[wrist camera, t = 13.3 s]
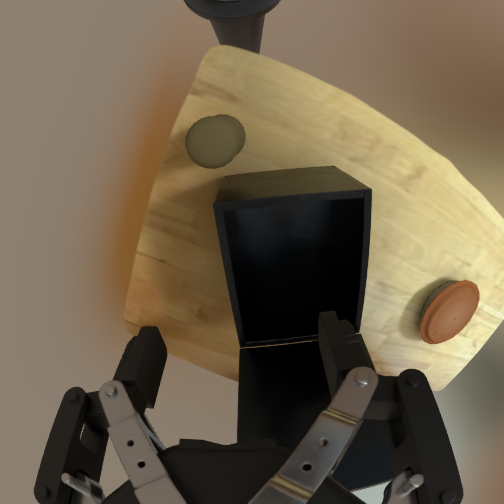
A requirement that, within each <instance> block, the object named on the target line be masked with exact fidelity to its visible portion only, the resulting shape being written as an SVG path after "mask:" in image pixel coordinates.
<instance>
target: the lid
mask: <svg viewBox="0 0 504 504" xmlns="http://www.w3.org/2000/svg"><path fill="white" fill-rule="evenodd" d="M356 335H357V337H358V339H359V342H360V344H361V347H362V349H363V352H364V355H365V357H366V360H367V362H368V365H369V367H370V368H371V369H373V370H374V371H375V372H376V370H375V368H374V365H373V363H372V360H371V357H370V355H369V352H368V350H367V348H366V345H365V343H364V340H363V338H362V335H361V334H356ZM331 401H332V398H331V394H330V389H329V385H328V381H327V377H326V372H325V368H324V364H323V360H322V356H321V352H320V348H319V342H318V341H310V342H303V343H295V344H286V345H277V346H267V347H256V348H243V349H240V354H239V386H238V422H237V443H239V442H243V441H247V440H251V439H266V438H276V443H278V444H284V445H288V446H291V447H293V448H295V449H296V448H297V446H298V445H299V444H300V442H301V441H302V439H303V438H304V437H305V435H306V434H307V432H308V431H309V430H310V428H311V427H312V425H313V424H314V422H315V421H316V419H317V418H318V416H319V415H320V413H321V412H322V411H323V410H324V409H327V408H328V406H329V405H330V403H331ZM331 477H332V478H333V479H335V480H336V481H337V482H338V483H340V484H341V485H342V486H343V487H345V488H346V489H347V490H349V491H350V492H353V491H357V490H362V489H365V488H369V487H373V486H376V485H379V484H383V483H386V482H389V481H392V480H393V479H394V478H396V475H395V469H394V464H393V459H392V454H391V450H390V445H389V440H388V436H387V432H386V427H385V423H384V420H378V419H364V420H363V422H362V424H361V426H360V428H359V429H358V431H357V433H356V435H355V437H354V439H353V440H352V442H351V444H350V446H349V447H348V449H347V451H346V453H345V455H344V457H343V458H342V460H341V462H340V463H339V465H338V466H337V468H336V470H335V471H334V473H333V474H332V476H331Z"/></svg>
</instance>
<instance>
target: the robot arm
mask: <svg viewBox="0 0 504 504" xmlns="http://www.w3.org/2000/svg"><path fill="white" fill-rule="evenodd" d="M215 1H220V2H239V1H244V0H215ZM318 342H319V348H320V352H321V356H322V360H323V364H324V368H325V372H326V377H327V381H328V385H329V389H330V394H331V398H332V401H331V403H330V405H329V406H328V408H327V409H324V410H323V411H322V412H321V413H320V415H319V416H318V418H317V419H316V421H315V422H314V424H313V425H312V427H311V428H310V430H309V431H308V432H307V434H306V435H305V437H304V438H303V439H302V441H301V442H300V444H299V445H298V446H297V448H296V449H295V448H293V447H291V446H288V445H284V444H278V443H276V438H266V439H251V440H247V441H243V442H239V443H235V444H231V445H221V444H217V443H213V442H209V441H205V440H195V439H194V440H193V439H180V442H179V445H175V446H172V447H169V448H167V449H166V447H165V446H164V445H163V444H162V442H161V441H160V440H159V437H158V436H157V434H156V432H155V431H154V429H153V427H152V425H151V424H150V422H149V420H148V418H147V416H146V415H145V409H146V408H153V409H154V405H155V401H156V397H157V393H158V389H159V386H160V382H161V378H162V374H163V370H164V367H165V363H166V359H167V348H166V345H165V343H164V341H163V339H162V336H161V334H160V332H159V329H158V328H157V327H156V326H143V327H141V329H140V331H139V334H138V336H134V337H133V338H132V339H131V340H130V341H129V343H128V344H127V346H126V348H125V352H124V353H123V356H122V359H121V360H120V363H119V365H118V368H117V370H116V373H115V375H114V378H113V380H112V381H108V382H106V383H105V384H103V385H102V387H101V388H100V390H99V391H96V392H90V393H86V392H85V391H84V390H83V389H82V388H80V387H73V388H71V389H69V390H68V391H67V392H66V393H65V395H64V397H63V400H62V402H61V405H60V407H59V410H58V413H57V415H56V418H55V421H54V424H53V426H52V429H51V432H50V435H49V438H48V441H47V444H46V447H45V451H44V454H43V457H42V461H41V464H40V468H39V471H38V475H37V479H36V483H35V487H34V495H35V498H36V500H37V501H38V502H39V503H40V504H366V503H365V502H363V501H362V500H361V499H359V498H358V497H356V496H355V495H354V494H353V493H351V492H350V491H349V490H347V489H346V488H345V487H343V486H342V485H341V484H340V483H338V482H337V481H336V480H335V479H333V478H332V477H331V476H332V474H333V473H334V471H335V470H336V468H337V466H338V465H339V463H340V462H341V460H342V458H343V457H344V455H345V453H346V451H347V449H348V447H349V446H350V444H351V442H352V440H353V439H354V437H355V435H356V433H357V431H358V429H359V428H360V426H361V424H362V422H363V420H364V419H378V420H384V423H385V427H386V432H387V436H388V440H389V445H390V450H391V454H392V459H393V464H394V469H395V475H396V478H394V479H393V480H392V481H391V482H390V483H389V484H388V485H387V486H386V488H385V490H384V498H383V502H382V504H460V503H461V501H462V499H463V488H462V483H461V479H460V475H459V471H458V468H457V464H456V460H455V457H454V453H453V450H452V447H451V444H450V441H449V438H448V434H447V431H446V428H445V426H444V423H443V419H442V417H441V414H440V411H439V408H438V406H437V403H436V400H435V398H434V395H433V393H432V390H431V388H430V385H429V383H428V380H427V378H426V376H425V375H424V374H423V373H422V372H421V371H419V370H416V369H407V370H404V371H403V372H401V373H400V375H399V376H383V375H379V374H377V373H376V372H375V371H374V370H373V369H371V368H370V367H369V365H368V362H367V360H366V357H365V355H364V352H363V349H362V347H361V344H360V342H359V339H358V337H357V335H356V332H355V329H354V327H353V325H352V324H351V323H349V322H348V321H347V320H346V319H345V320H339V321H338V318H337V315H336V312H335V311H327V312H320V313H319V324H318ZM83 424H84V425H85V426H84V429H83V432H82V436H81V439H80V435H81V431H82V428H83ZM109 435H110V438H111V440H112V442H113V445H114V447H115V449H116V452H117V454H118V456H119V458H120V461H121V463H122V465H123V467H124V469H125V471H126V473H127V475H128V477H129V479H128V480H127V481H126V482H125V483H124V484H123V485H121V486H120V487H119V488H118V489H116V490H115V491H114V492H113V493H111V494H110V495H109V496H107V498H105V495H104V494H103V490H102V488H101V486H100V485H99V481H100V476H101V470H102V465H103V460H104V456H105V451H106V446H107V441H108V438H109Z"/></svg>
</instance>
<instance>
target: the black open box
mask: <svg viewBox="0 0 504 504" xmlns="http://www.w3.org/2000/svg"><path fill="white" fill-rule="evenodd" d="M371 206H372V189H370V188H369V187H367V186H366V185H364V184H363V183H361V182H359V181H358V180H356V179H355V178H353V177H352V176H350V175H348V174H347V173H345V172H343V171H342V170H340V169H338V168H337V167H335V166H325V167H309V168H296V169H284V170H274V171H264V172H255V173H246V174H238V175H230V176H225V178H224V180H223V182H222V185H221V187H220V189H219V191H218V194H217V196H216V198H215V201H214V203H213V208H214V214H215V220H216V225H217V231H218V237H219V242H220V248H221V253H222V259H223V264H224V269H225V275H226V280H227V285H228V290H229V295H230V300H231V305H232V310H233V315H234V320H235V325H236V330H237V335H238V340H239V345H240V348H244V347H256V346H267V345H277V344H286V343H295V342H303V341H310V340H317V339H318V324H319V313H320V312H327V311H335V312H336V315H337V318H338V321H339V320H345V319H346V320H347V321H348V322H349V323H351V324H352V325H353V327H354V329H355V332H356V333H359V331H360V325H361V318H362V311H363V304H364V296H365V288H366V279H367V269H368V258H369V246H370V230H371Z"/></svg>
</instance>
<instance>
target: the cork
mask: <svg viewBox="0 0 504 504" xmlns="http://www.w3.org/2000/svg"><path fill="white" fill-rule="evenodd" d="M244 143H245V131H244V127H243V126H242V124H241V123H240V122H239V121H238V120H237V119H235V118H234V117H232V116H229V115H216V116H208V117H205V118H202V119H200V120H198V121H197V122H196V123H194V124H193V125H192V127H191V128H190V129H189V131H188V133H187V136H186V150H187V153H188V155H189V156H190V158H191V159H192V161H194V162H195V163H196V164H198V165H199V166H202V167H205V168H212V169H216V168H219V167H223V166H225V165H226V164H228V163H229V162H231V161H232V159H233V158H234V157H235V156H236V155H237V154H238V153H239V152H240V151H241V149H242V148H243V146H244Z"/></svg>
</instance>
